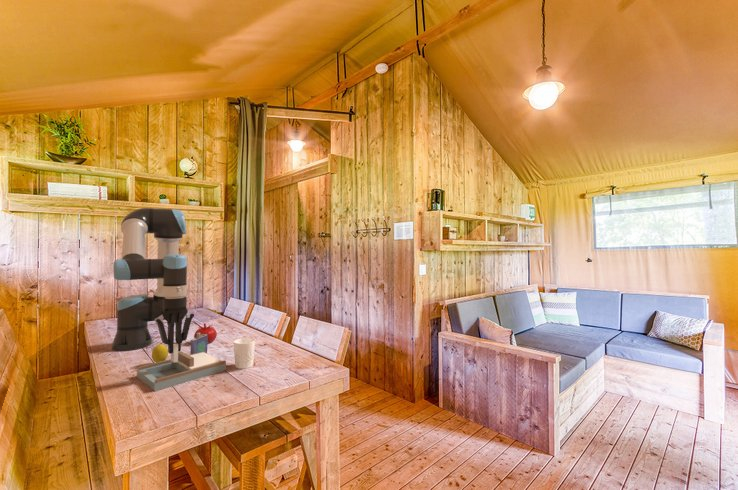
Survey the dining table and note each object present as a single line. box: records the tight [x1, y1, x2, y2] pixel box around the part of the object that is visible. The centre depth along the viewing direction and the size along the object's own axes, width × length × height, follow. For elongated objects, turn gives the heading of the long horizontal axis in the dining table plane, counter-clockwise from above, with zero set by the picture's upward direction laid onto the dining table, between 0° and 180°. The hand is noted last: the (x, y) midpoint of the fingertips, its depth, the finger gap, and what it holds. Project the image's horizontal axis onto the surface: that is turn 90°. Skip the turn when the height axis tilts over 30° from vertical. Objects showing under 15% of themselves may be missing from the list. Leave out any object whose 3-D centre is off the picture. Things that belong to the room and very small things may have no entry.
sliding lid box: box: [136, 351, 227, 392], centre depth 123 cm, size 18×24×4 cm
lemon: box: [151, 343, 169, 363], centre depth 133 cm, size 6×6×8 cm
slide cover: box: [177, 351, 222, 370], centre depth 128 cm, size 15×11×4 cm
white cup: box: [233, 337, 256, 370], centre depth 132 cm, size 8×8×10 cm
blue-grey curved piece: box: [190, 333, 208, 354], centre depth 140 cm, size 9×3×11 cm, turn 170°
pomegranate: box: [193, 323, 218, 344], centre depth 162 cm, size 10×10×9 cm
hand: (174, 361), depth 121 cm, fingers closed
